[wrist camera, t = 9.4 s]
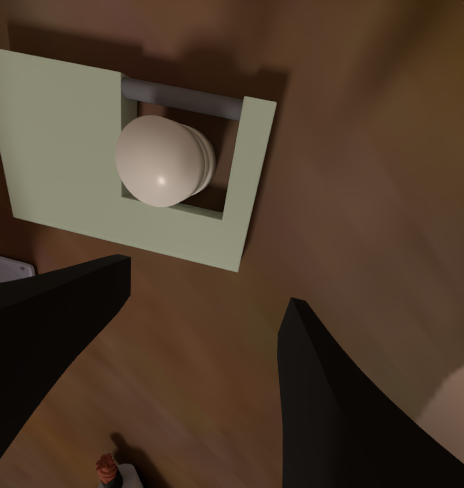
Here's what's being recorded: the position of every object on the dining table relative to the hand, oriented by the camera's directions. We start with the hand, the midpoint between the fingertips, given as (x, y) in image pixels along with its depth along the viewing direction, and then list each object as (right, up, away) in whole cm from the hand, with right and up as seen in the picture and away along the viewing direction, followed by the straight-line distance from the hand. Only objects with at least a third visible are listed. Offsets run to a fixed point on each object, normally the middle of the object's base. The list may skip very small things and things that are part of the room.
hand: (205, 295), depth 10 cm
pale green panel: (-7, +8, +9) cm, 14 cm away
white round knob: (-3, +9, +8) cm, 12 cm away
